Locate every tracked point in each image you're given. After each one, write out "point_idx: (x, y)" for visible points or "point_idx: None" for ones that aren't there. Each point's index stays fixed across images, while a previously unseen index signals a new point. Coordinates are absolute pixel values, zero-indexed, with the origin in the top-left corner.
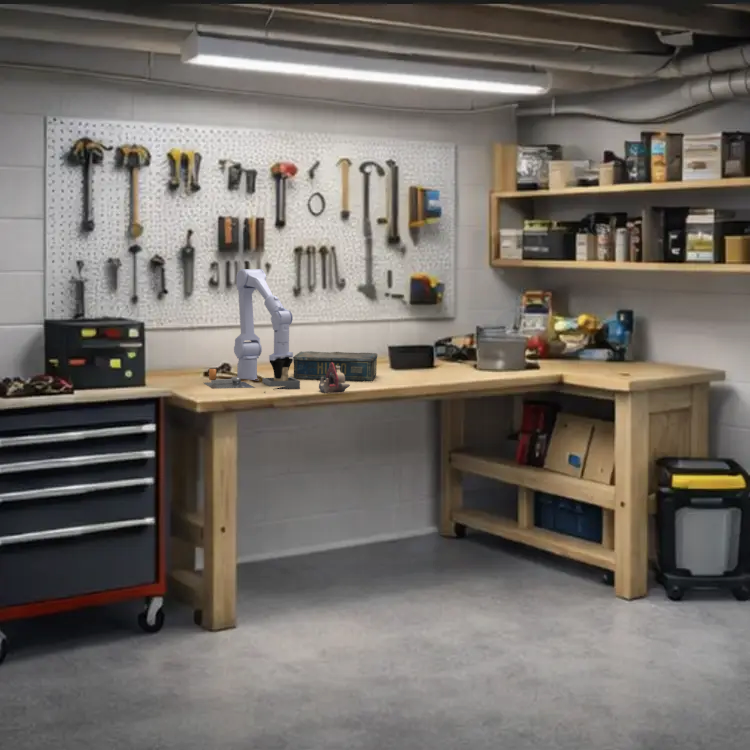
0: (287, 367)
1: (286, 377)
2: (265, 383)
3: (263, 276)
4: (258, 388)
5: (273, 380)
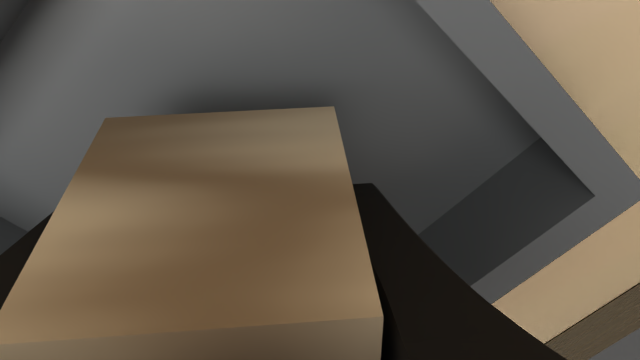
0: (43, 340)
1: (171, 149)
2: None
3: None
4: None
5: None
